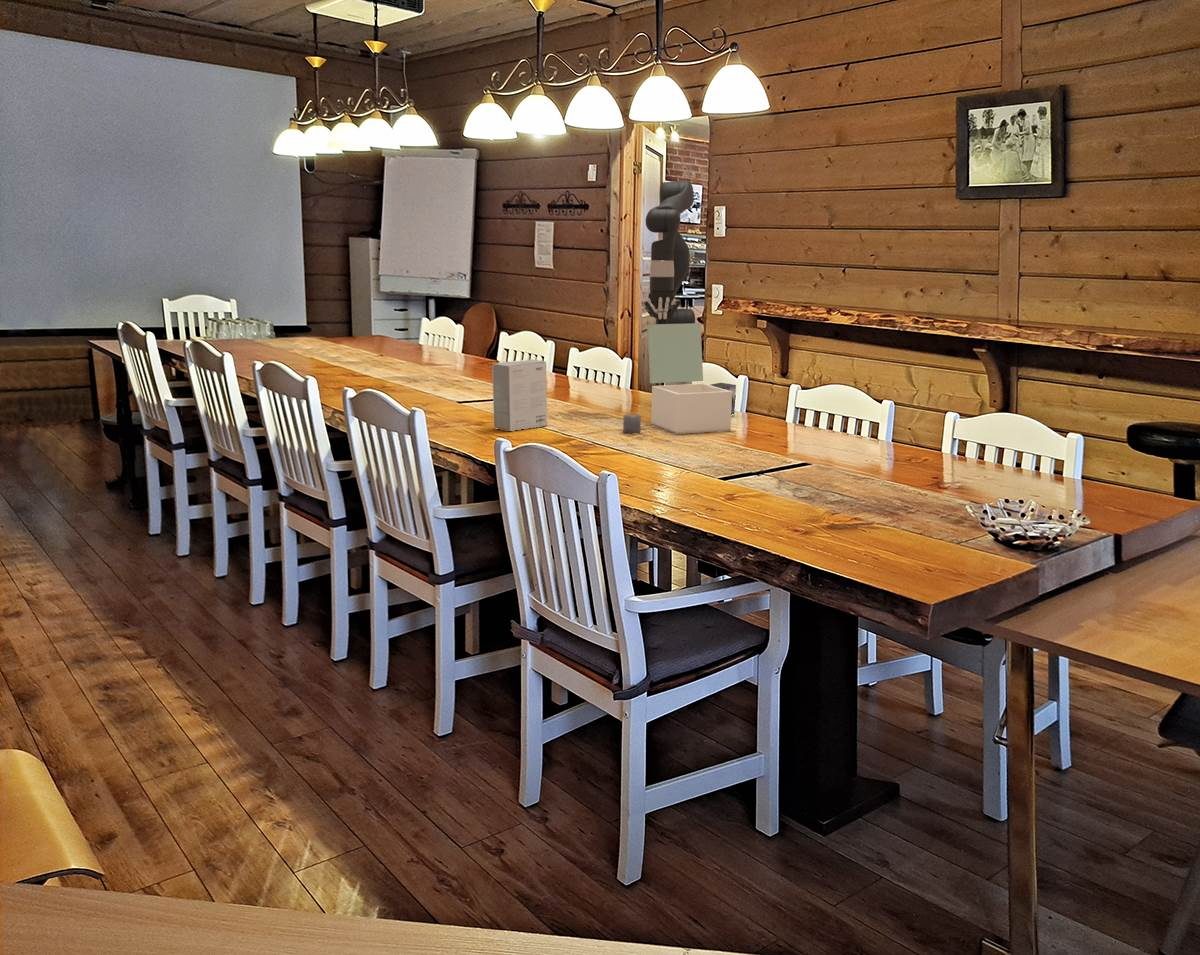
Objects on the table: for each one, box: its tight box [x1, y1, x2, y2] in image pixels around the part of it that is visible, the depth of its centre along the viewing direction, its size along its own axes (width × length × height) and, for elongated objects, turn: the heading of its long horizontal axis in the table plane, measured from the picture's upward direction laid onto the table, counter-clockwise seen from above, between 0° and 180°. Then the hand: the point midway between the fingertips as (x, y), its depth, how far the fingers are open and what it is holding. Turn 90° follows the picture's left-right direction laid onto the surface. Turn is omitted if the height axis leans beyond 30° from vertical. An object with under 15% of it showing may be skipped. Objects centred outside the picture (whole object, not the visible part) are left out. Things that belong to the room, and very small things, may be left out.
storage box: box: [650, 383, 732, 435], centre depth 323 cm, size 18×18×12 cm
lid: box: [646, 322, 704, 384], centre depth 330 cm, size 18×18×1 cm
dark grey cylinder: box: [622, 413, 642, 435], centre depth 316 cm, size 5×5×5 cm
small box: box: [710, 382, 737, 415], centre depth 344 cm, size 11×6×10 cm, turn 143°
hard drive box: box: [491, 358, 548, 432], centre depth 320 cm, size 16×8×20 cm, turn 134°
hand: (660, 331), depth 334 cm, fingers closed
